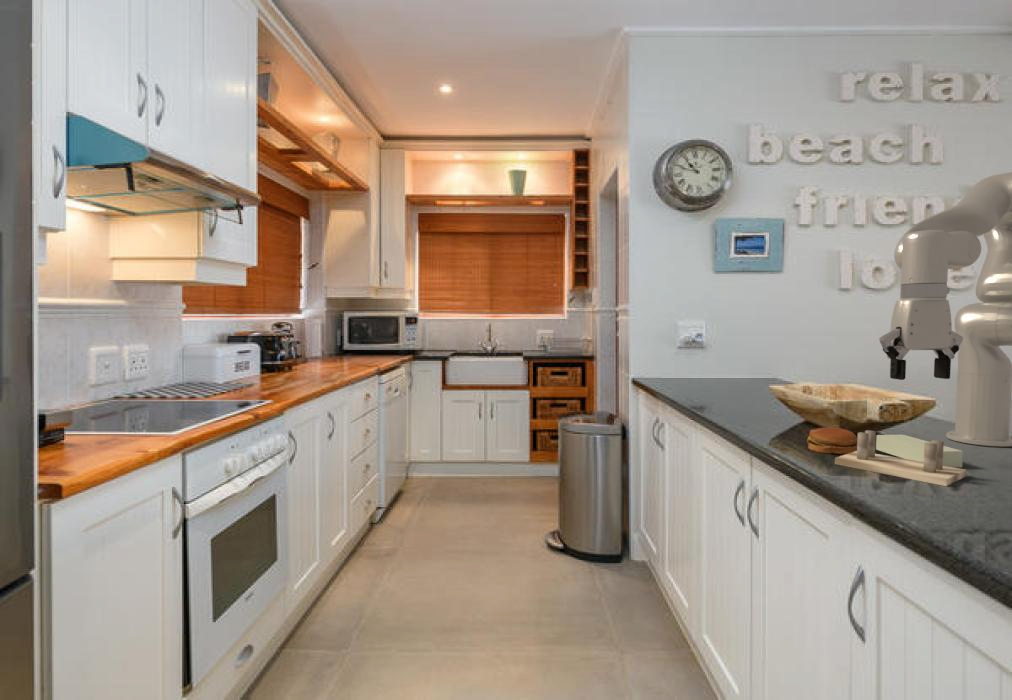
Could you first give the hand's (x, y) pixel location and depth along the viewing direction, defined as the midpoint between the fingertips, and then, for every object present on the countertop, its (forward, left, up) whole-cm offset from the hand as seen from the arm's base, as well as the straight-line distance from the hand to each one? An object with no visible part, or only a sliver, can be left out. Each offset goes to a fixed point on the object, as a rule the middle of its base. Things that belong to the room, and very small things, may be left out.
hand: (919, 378), depth 115 cm
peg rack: (+13, +1, -16) cm, 21 cm away
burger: (+7, -13, -17) cm, 22 cm away
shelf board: (0, 0, -17) cm, 17 cm away
